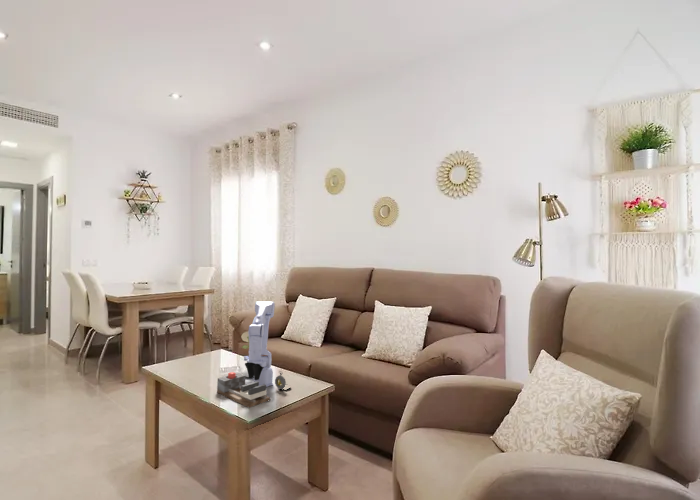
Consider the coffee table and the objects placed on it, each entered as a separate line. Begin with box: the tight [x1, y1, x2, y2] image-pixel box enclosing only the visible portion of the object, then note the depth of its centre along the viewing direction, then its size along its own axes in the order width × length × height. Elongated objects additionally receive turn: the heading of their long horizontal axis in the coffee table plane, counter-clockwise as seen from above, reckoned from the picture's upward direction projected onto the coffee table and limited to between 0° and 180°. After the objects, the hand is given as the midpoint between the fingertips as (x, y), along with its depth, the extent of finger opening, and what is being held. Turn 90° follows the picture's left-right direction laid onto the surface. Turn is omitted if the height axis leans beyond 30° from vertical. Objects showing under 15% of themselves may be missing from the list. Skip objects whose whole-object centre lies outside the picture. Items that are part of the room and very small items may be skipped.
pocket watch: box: [274, 370, 290, 390], centre depth 194 cm, size 8×8×10 cm
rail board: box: [216, 372, 271, 408], centre depth 182 cm, size 12×26×7 cm, turn 51°
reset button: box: [227, 371, 237, 379], centre depth 188 cm, size 4×4×4 cm
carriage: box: [240, 381, 267, 400], centre depth 177 cm, size 9×8×4 cm
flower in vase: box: [240, 331, 249, 378], centre depth 213 cm, size 13×11×25 cm
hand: (254, 378), depth 177 cm, fingers open, 4 cm apart
